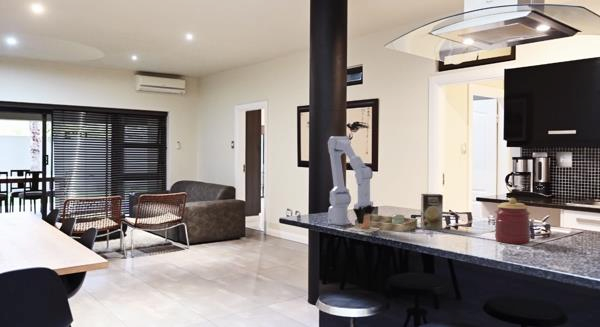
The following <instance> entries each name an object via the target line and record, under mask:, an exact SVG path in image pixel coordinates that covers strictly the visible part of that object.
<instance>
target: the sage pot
mask: <svg viewBox="0 0 600 327" xmlns="http://www.w3.org/2000/svg"><path fill="white" fill-rule="evenodd" d="M391 218H392V224H401V225H402V223H403V218H405V215H403V214H391Z"/></svg>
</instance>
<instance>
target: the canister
mask: <svg viewBox="0 0 600 327" xmlns="http://www.w3.org/2000/svg"><path fill="white" fill-rule="evenodd" d="M528 208H529V206H528V205H526V204H525V203H523V202H522V203H521V202H517V199H516V198H514V197H510V198H509V200H508V202H506V201H505V202H501V203H500V204H498V205H497V209H496V210H495V211H494V212H495V214H496V218H495V219H494V220H495V233H494V238H495V241H497V242H499V243H504V244H511V245H524V244H529V243H530V240H531V234H530V233H531V232H530V231H531V220H530V215H531V212H530V211H529V210H528Z"/></svg>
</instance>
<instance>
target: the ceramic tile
mask: <svg viewBox="0 0 600 327" xmlns="http://www.w3.org/2000/svg"><path fill="white" fill-rule="evenodd" d="M347 230H348V231H355V232H361V231H364V233H370V232H371V233H374V232H377V231H380V230H381V229H380V228H372V227H370V228H359V226H352V227H348V228H347ZM373 231H374V232H373Z"/></svg>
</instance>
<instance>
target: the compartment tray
mask: <svg viewBox="0 0 600 327" xmlns="http://www.w3.org/2000/svg"><path fill="white" fill-rule="evenodd" d="M356 226H359V223H358V221H357V218H356V219H355V220H354V227H356ZM370 227H372V228H380V230H383V231H384V230H385V231H393V232H407V231H409V230H413V229H415V228H417V227H418V218H414V217H404V218H403V223H402V225H401V224H392V218H391V216H390V215H382V214H381V215H380V214H371V218H370Z"/></svg>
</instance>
